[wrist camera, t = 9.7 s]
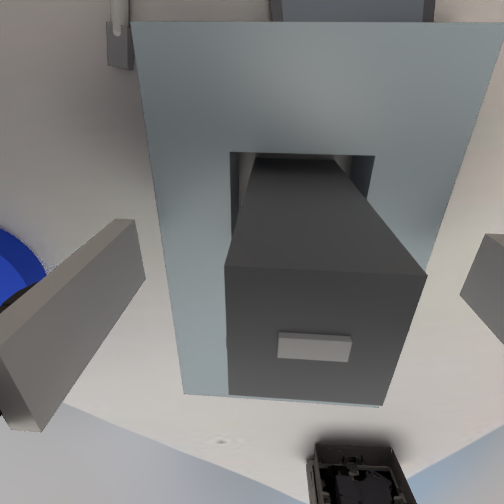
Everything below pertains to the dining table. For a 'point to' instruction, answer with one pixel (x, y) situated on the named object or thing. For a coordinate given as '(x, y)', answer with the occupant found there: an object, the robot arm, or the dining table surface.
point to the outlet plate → (297, 138)
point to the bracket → (16, 266)
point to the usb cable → (119, 36)
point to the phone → (352, 10)
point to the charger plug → (315, 288)
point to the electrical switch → (356, 476)
